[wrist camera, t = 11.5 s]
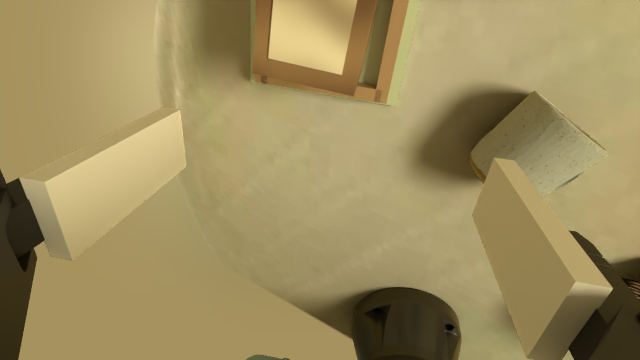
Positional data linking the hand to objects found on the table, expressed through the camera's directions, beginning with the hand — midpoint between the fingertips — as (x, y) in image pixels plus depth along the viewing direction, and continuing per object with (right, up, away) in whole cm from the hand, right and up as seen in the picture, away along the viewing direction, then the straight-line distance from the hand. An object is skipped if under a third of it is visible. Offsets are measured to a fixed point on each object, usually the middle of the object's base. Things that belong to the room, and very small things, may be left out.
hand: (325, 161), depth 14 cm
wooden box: (+1, +15, +15) cm, 21 cm away
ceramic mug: (+20, +3, +19) cm, 28 cm away
